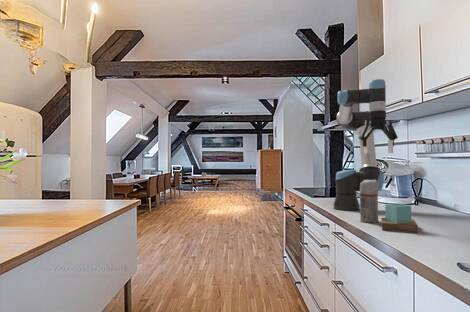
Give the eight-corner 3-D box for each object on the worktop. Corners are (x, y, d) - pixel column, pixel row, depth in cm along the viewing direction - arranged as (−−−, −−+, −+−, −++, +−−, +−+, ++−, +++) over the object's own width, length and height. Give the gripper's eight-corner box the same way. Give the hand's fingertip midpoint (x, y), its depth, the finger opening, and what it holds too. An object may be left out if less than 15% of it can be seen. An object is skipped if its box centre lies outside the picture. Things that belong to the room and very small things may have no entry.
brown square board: (381, 224, 143) (381, 203, 143) (414, 226, 138) (413, 204, 138) (382, 230, 132) (381, 207, 132) (417, 232, 126) (417, 209, 126)
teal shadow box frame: (385, 220, 138) (385, 204, 138) (399, 219, 139) (399, 203, 139) (396, 223, 131) (396, 206, 131) (411, 222, 132) (411, 205, 132)
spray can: (380, 223, 145) (380, 180, 145) (362, 223, 147) (361, 180, 147) (376, 220, 153) (375, 179, 154) (358, 219, 155) (357, 179, 155)
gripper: (359, 109, 151) (360, 153, 151) (404, 110, 156) (405, 152, 155) (350, 111, 158) (351, 153, 158) (394, 112, 163) (395, 153, 163)
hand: (378, 153), depth 157 cm, fingers open, 13 cm apart
